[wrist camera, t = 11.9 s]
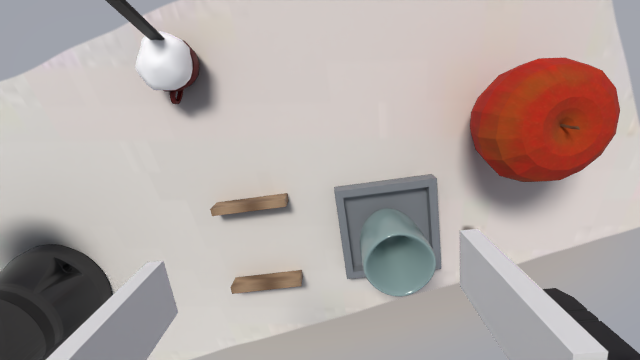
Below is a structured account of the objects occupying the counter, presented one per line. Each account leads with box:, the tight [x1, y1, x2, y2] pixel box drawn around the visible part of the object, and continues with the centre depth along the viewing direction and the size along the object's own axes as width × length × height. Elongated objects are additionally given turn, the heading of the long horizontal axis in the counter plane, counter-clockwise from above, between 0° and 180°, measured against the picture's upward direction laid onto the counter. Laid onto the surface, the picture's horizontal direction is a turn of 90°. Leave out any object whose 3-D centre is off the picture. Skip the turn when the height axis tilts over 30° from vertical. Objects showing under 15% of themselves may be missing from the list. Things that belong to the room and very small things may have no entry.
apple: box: [470, 58, 620, 182], centre depth 33 cm, size 12×12×14 cm
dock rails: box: [210, 193, 303, 294], centre depth 45 cm, size 10×13×2 cm
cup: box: [359, 208, 436, 296], centre depth 40 cm, size 8×8×10 cm
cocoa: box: [106, 0, 200, 104], centre depth 34 cm, size 10×6×12 cm, turn 157°
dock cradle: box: [334, 174, 441, 279], centre depth 44 cm, size 13×13×2 cm
